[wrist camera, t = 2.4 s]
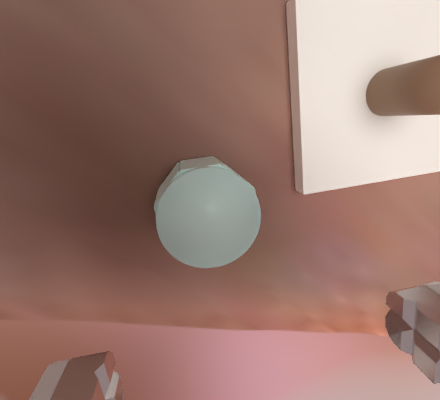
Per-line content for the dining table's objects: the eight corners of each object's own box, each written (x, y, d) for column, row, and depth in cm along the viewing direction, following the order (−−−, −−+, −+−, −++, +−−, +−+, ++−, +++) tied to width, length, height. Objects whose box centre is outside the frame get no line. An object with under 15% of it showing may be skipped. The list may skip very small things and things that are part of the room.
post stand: (286, 3, 18) (371, -88, 10) (458, -13, 20) (651, -104, 12) (295, 190, 22) (363, 229, 14) (439, 165, 24) (576, 188, 16)
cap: (152, 164, 20) (145, 177, 15) (238, 152, 21) (256, 160, 16) (168, 244, 22) (166, 276, 17) (247, 230, 23) (265, 257, 18)
